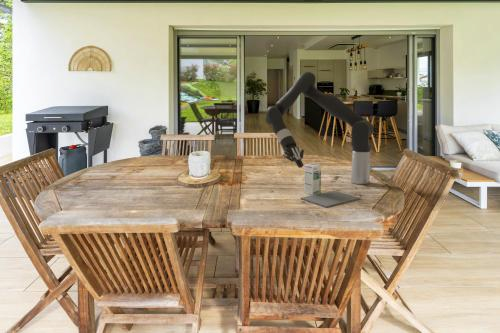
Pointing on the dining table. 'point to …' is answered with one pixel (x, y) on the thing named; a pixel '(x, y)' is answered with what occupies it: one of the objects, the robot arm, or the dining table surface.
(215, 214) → the dining table surface
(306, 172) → the syrup box
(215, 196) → the dining table surface
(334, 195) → the charcoal mat
